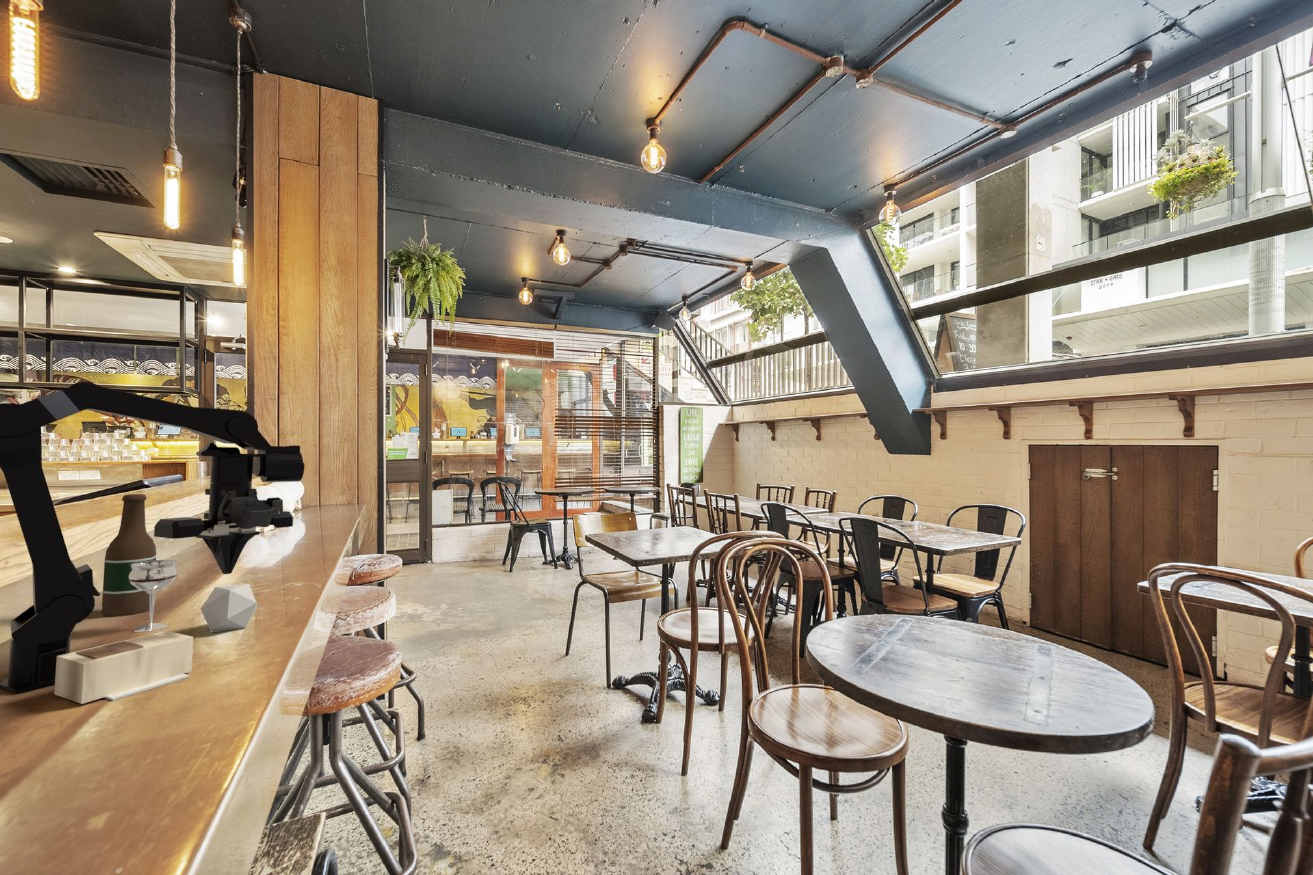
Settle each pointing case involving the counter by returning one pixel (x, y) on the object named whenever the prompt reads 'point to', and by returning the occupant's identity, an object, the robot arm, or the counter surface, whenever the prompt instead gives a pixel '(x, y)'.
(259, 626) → the counter surface
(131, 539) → the beer bottle
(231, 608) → the die
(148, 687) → the mat
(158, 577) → the wineglass
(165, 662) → the birch block
